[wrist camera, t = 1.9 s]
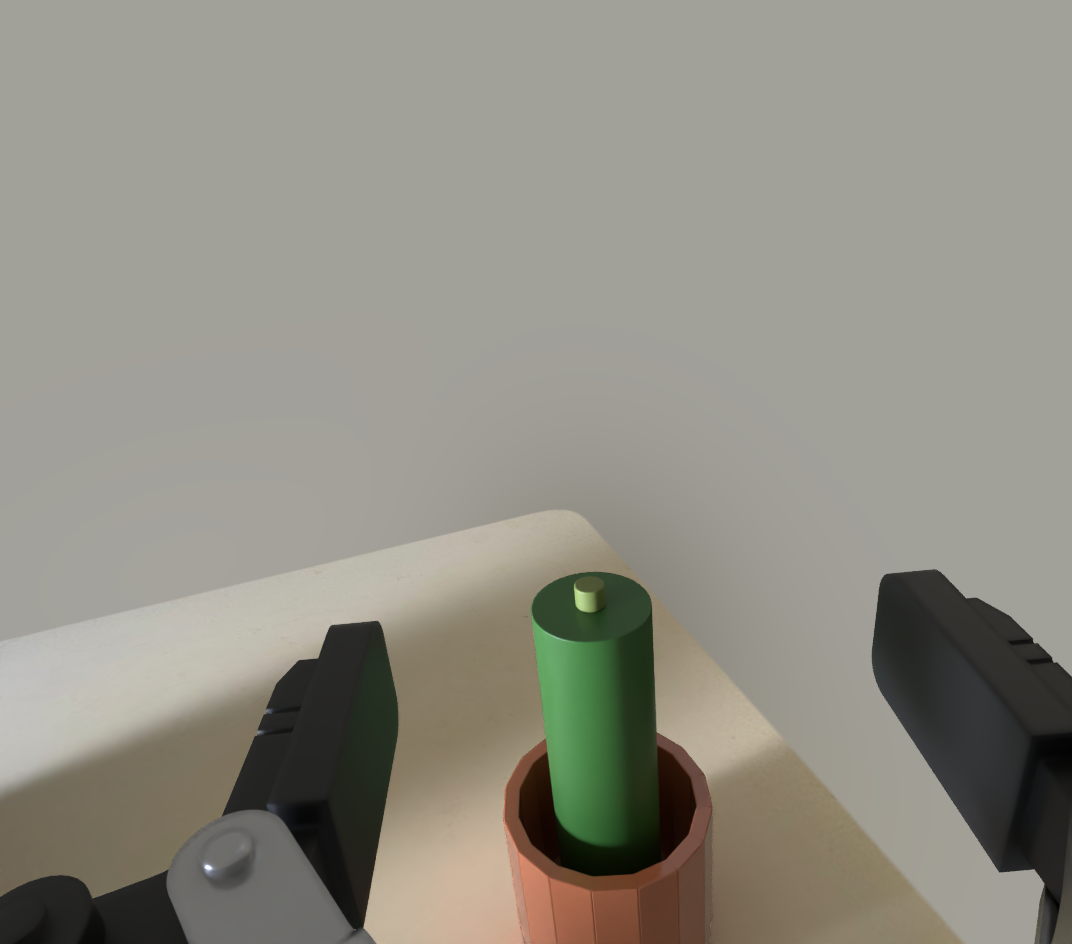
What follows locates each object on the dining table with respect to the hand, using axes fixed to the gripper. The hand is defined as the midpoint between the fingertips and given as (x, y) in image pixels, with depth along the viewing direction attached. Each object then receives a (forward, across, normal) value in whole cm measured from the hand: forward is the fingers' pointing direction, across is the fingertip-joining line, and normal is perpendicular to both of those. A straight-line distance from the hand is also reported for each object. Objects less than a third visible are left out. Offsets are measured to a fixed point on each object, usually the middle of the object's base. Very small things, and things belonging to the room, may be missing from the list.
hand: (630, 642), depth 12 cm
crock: (+11, 0, +23) cm, 25 cm away
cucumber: (+11, 0, +22) cm, 25 cm away
